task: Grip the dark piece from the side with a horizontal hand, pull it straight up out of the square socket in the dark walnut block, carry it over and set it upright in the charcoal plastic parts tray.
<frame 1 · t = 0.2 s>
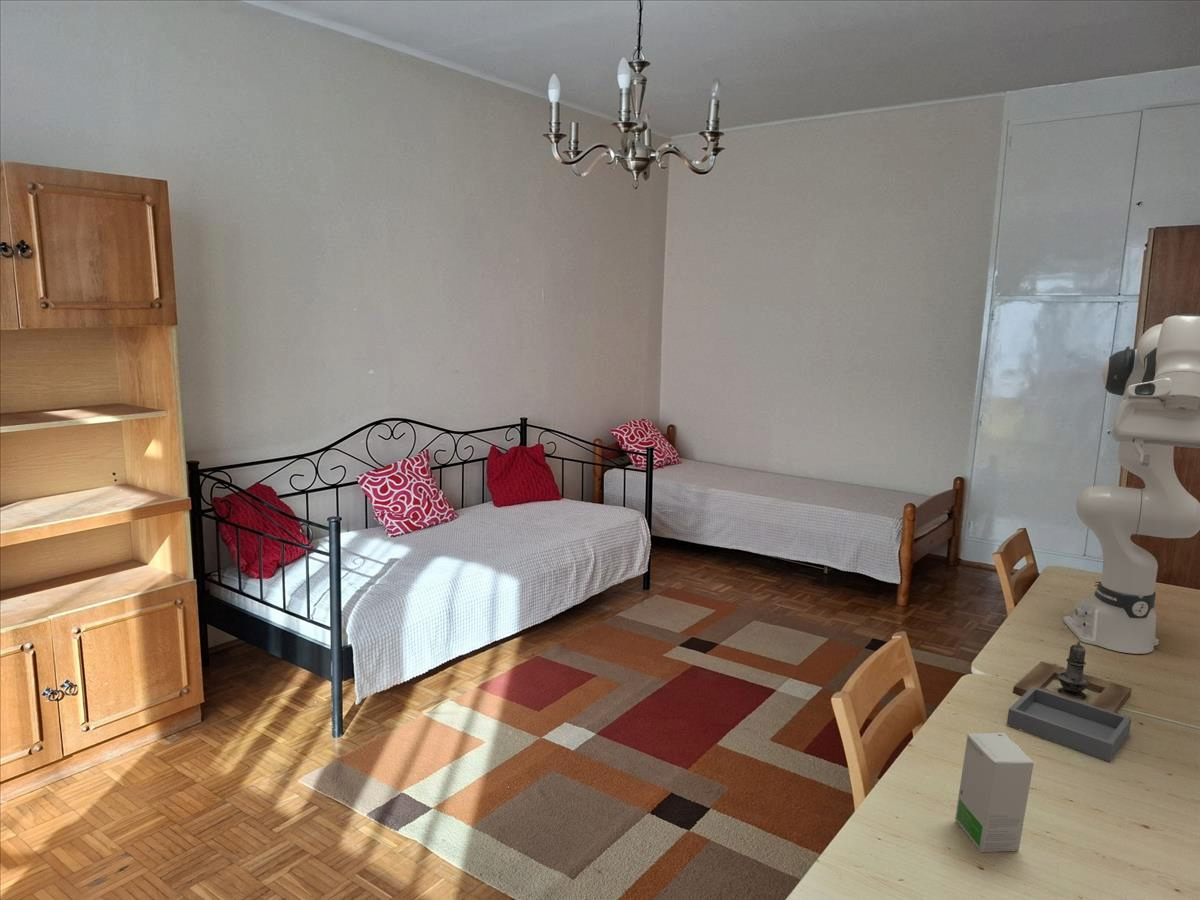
hand: (1175, 468, 147), 54 cm above the table, tool tilted 30°, fingers open, 8 cm apart
parts tray: (1067, 729, 163), on the table
dark piece: (1071, 694, 178), resting in socket block
socket block: (1071, 693, 178), on the table
skincare box: (987, 837, 130), on the table
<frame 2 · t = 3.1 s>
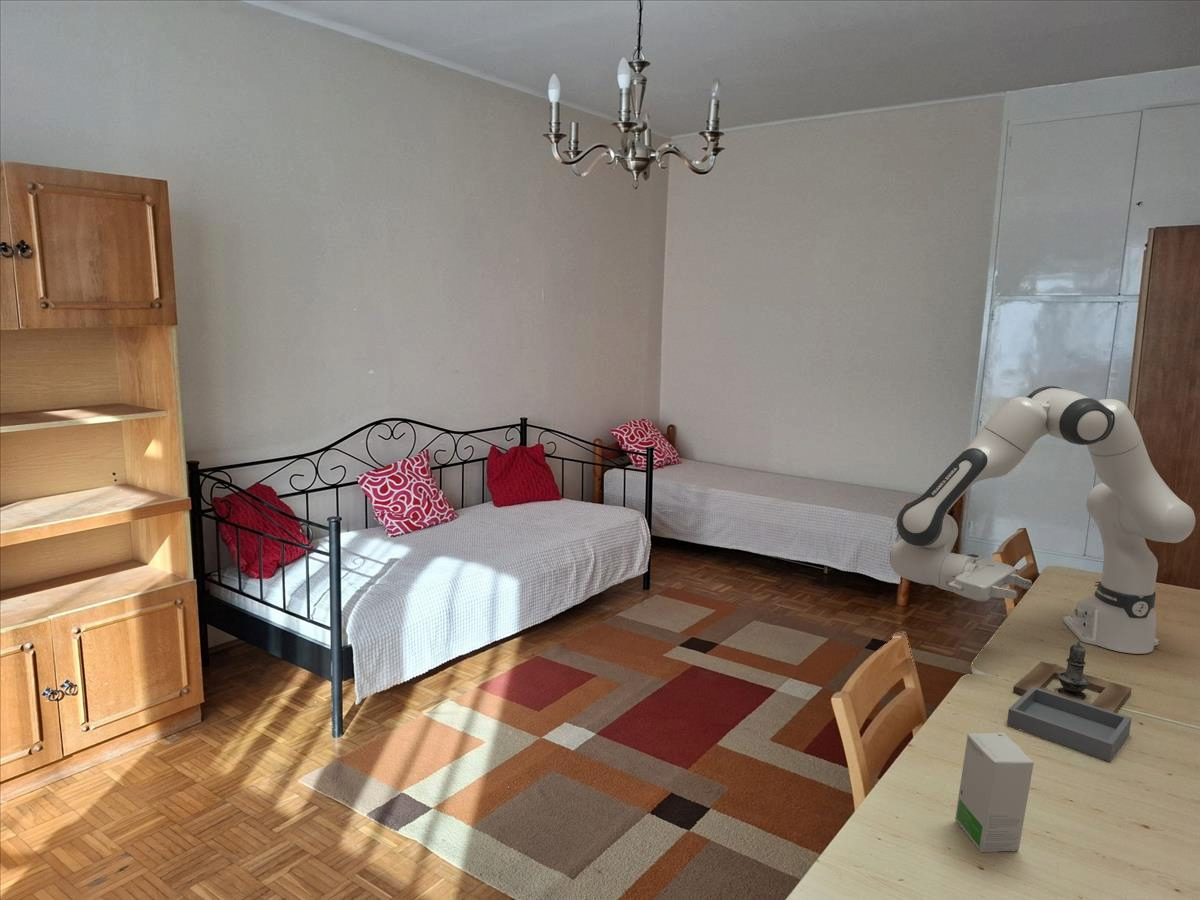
hand: (1023, 590, 182), 20 cm above the table, tool horizontal, fingers open, 8 cm apart
nothing on the table moved.
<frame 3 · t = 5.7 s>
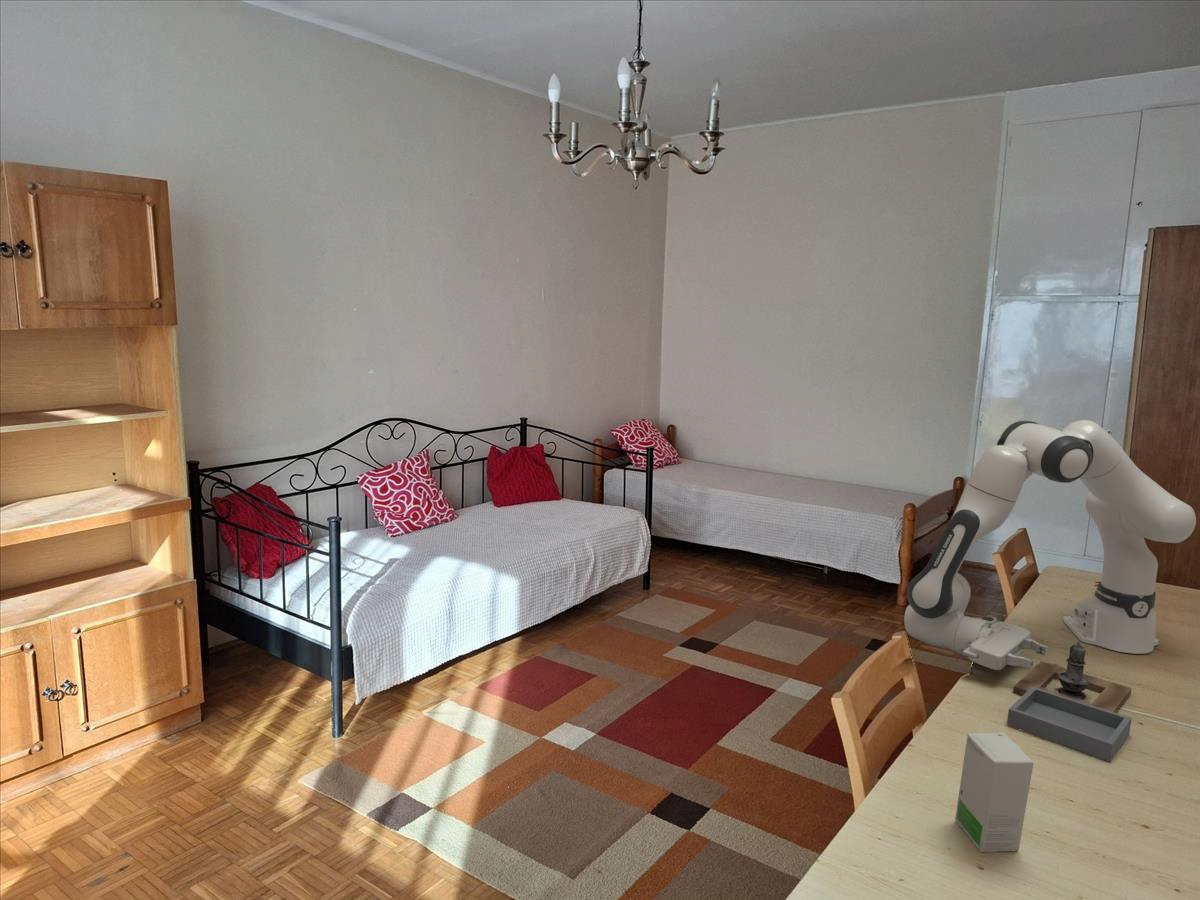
hand: (1039, 657, 182), 6 cm above the table, tool horizontal, fingers open, 8 cm apart
nothing on the table moved.
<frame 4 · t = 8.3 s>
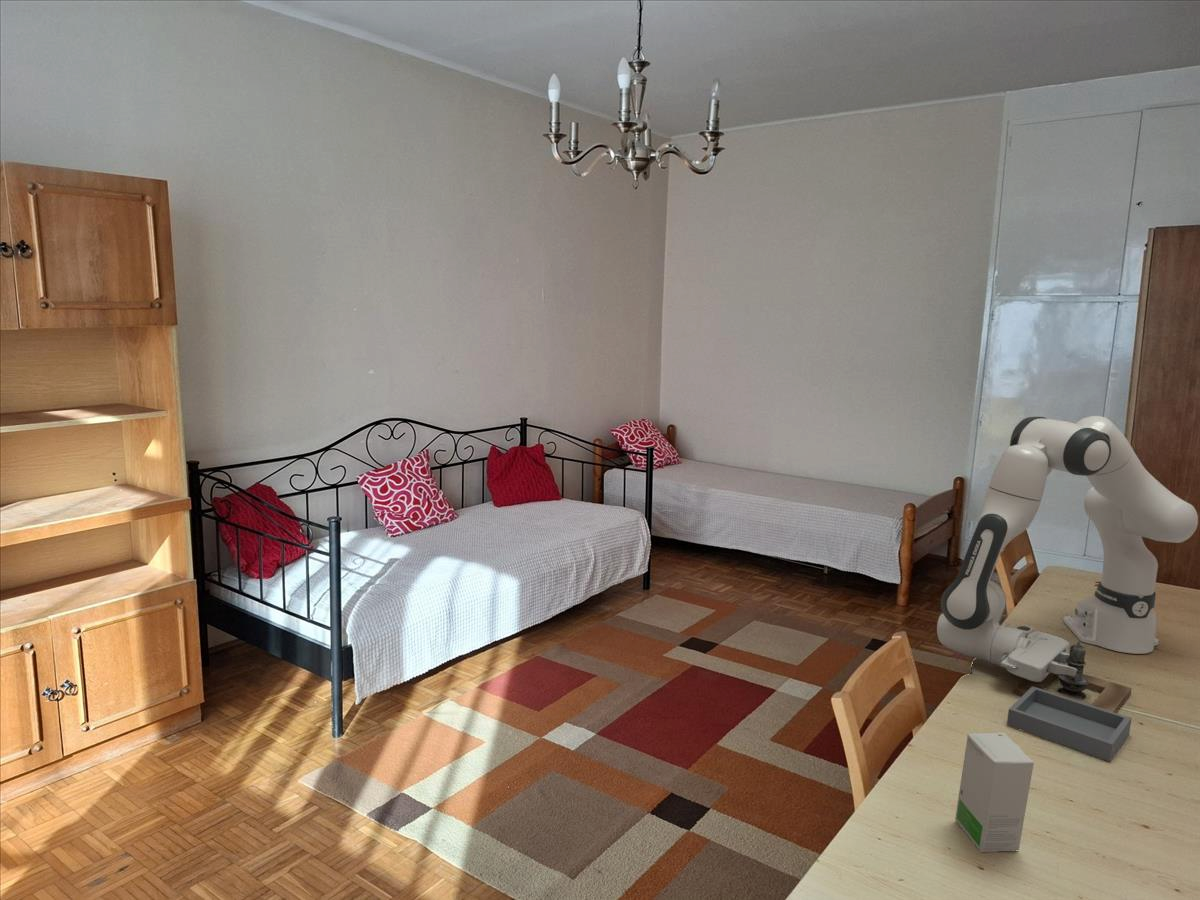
hand: (1080, 668, 176), 6 cm above the table, tool horizontal, fingers closed on dark piece, 3 cm apart
dark piece: (1071, 694, 178), resting in socket block, touching gripper
everything else where it was.
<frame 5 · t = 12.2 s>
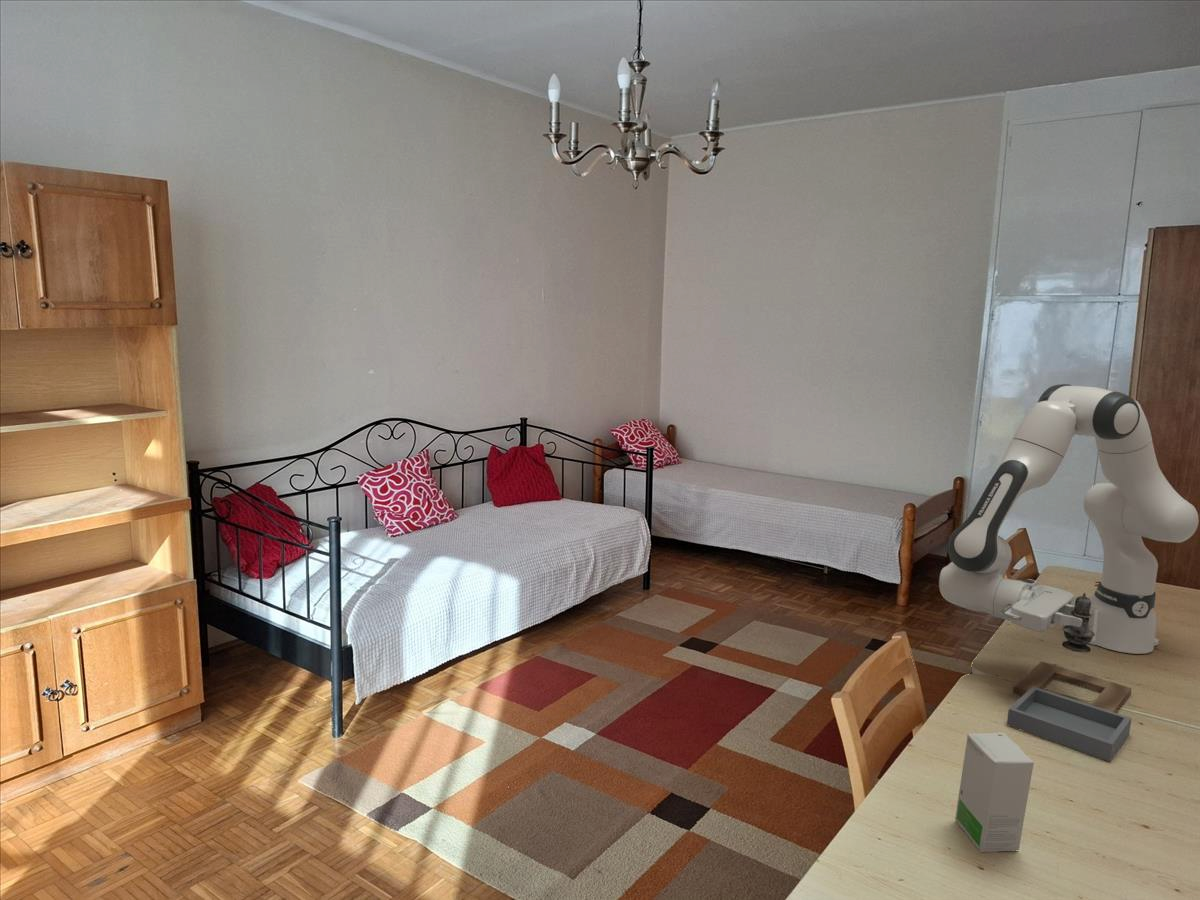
hand: (1085, 619, 171), 18 cm above the table, tool horizontal, fingers closed on dark piece, 3 cm apart
dark piece: (1076, 647, 173), point 12 cm above the table, touching gripper
everything else where it was.
when the fingers open (8 cm above the table, at t = 16.4 s): dark piece stays where it is, resting on parts tray.
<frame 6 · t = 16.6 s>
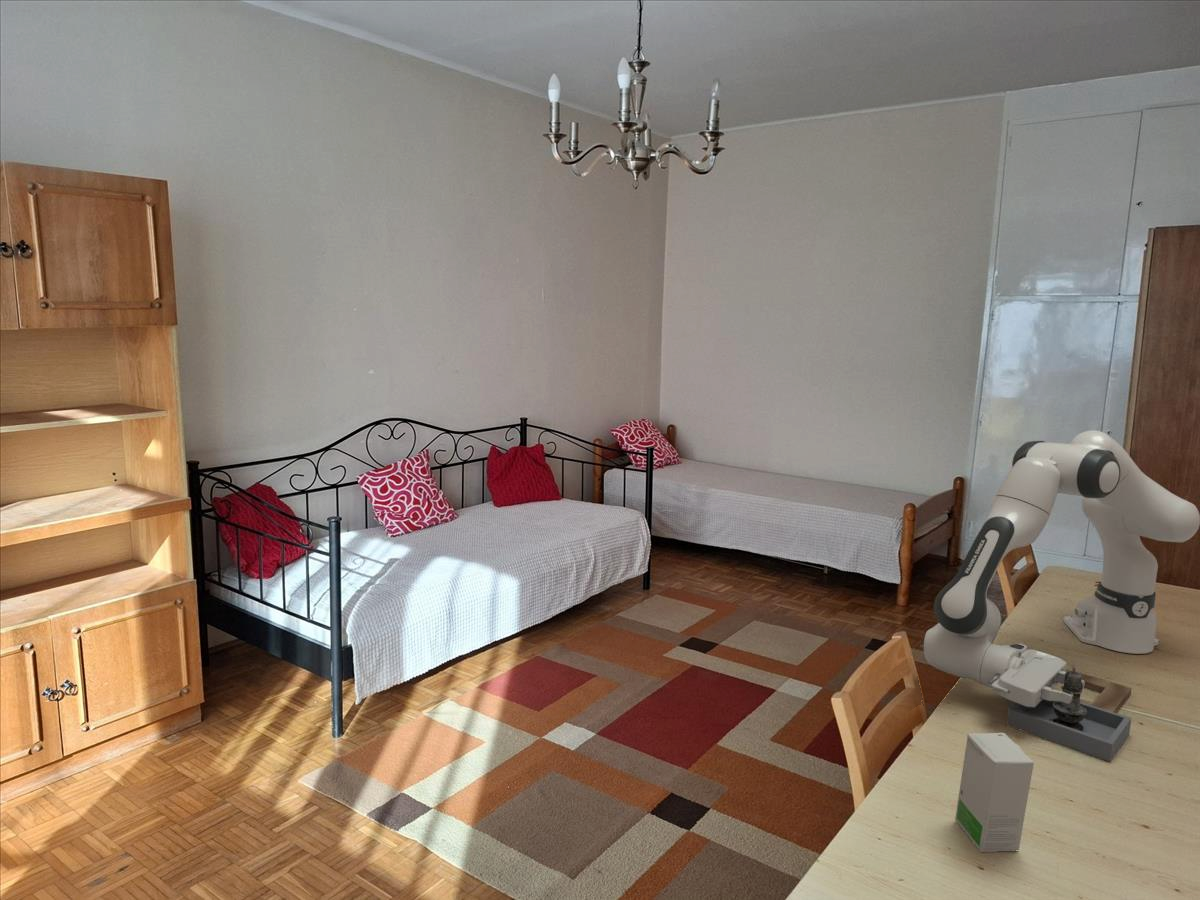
hand: (1077, 692, 161), 8 cm above the table, tool horizontal, fingers open, 6 cm apart
dark piece: (1067, 725, 163), point 1 cm above the table, touching parts tray
everything else where it was.
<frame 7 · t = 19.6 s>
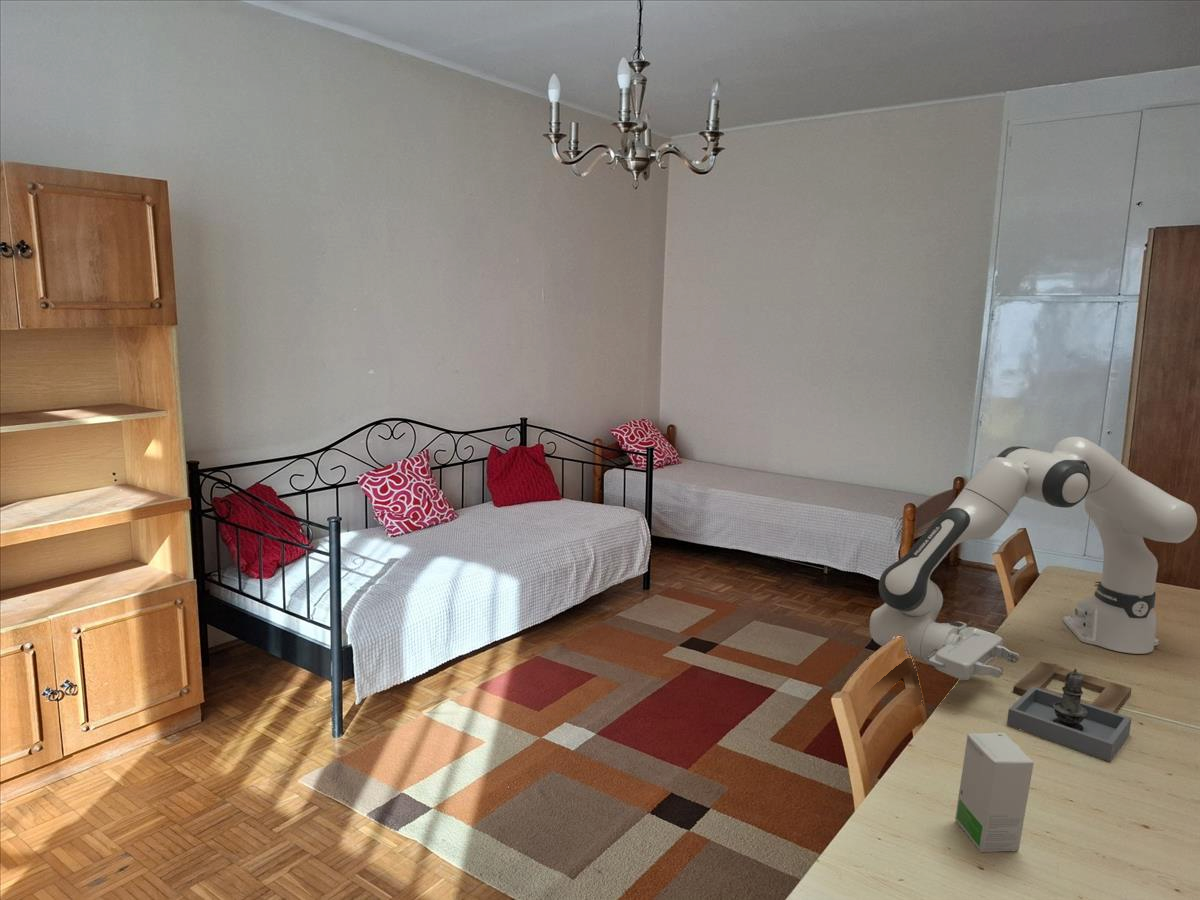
hand: (1009, 665, 170), 9 cm above the table, tool horizontal, fingers open, 8 cm apart
nothing on the table moved.
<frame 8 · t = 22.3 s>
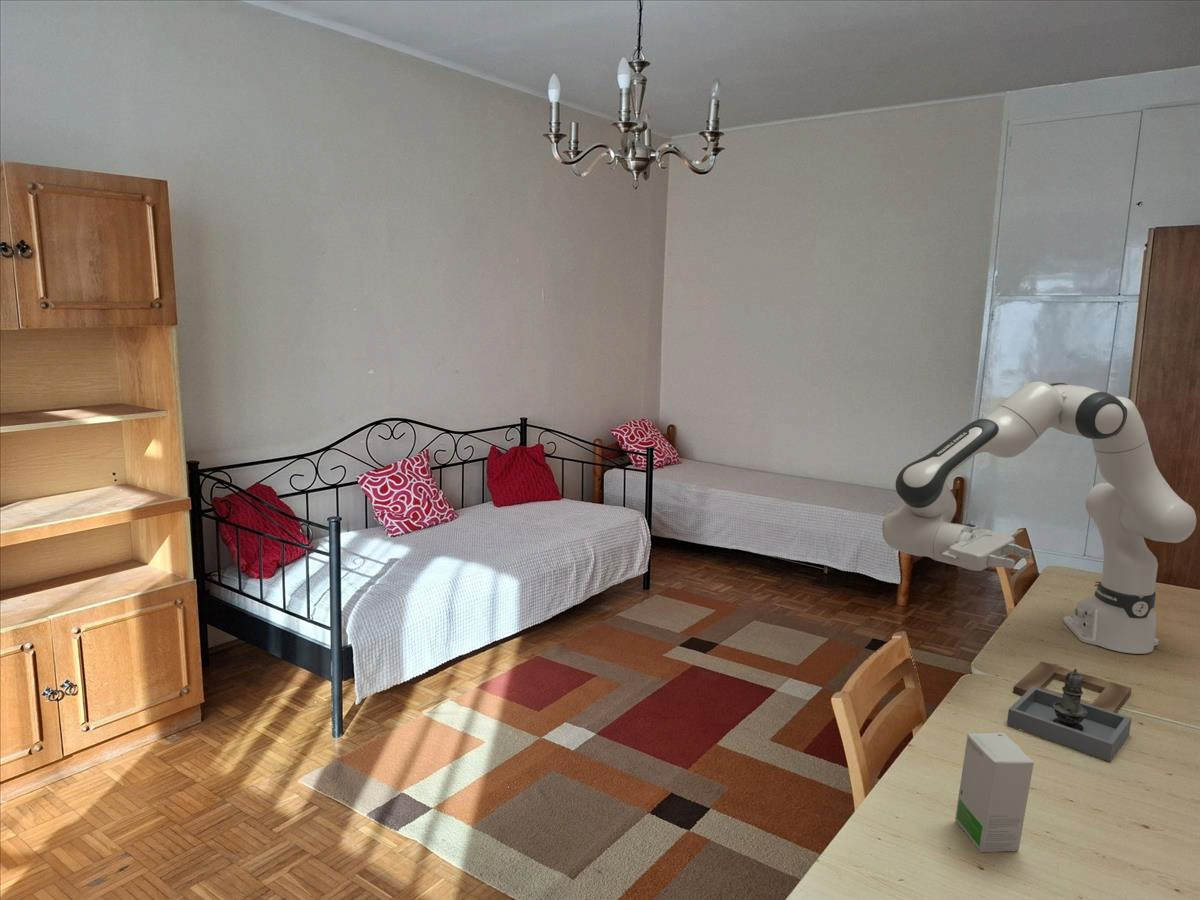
hand: (1022, 559, 172), 30 cm above the table, tool horizontal, fingers open, 8 cm apart
nothing on the table moved.
at the end: dark piece 0.2 cm from the parts tray (horizontally); dark piece point 0.6 cm above the table; dark piece tilted 0° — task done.
